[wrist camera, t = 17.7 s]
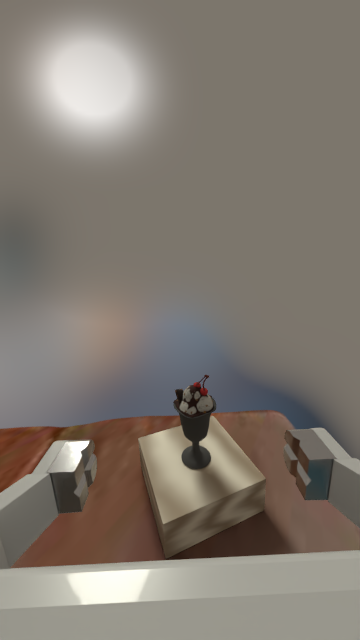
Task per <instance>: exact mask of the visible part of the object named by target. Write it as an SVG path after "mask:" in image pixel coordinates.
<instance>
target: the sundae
mask: <svg viewBox="0 0 360 640" xmlns="http://www.w3.org/2000/svg"><path fill="white" fill-rule="evenodd" d="M205 377H206V379H207V378H208V377H209V376H208V375H205ZM205 377H204V378H205ZM206 379H205V380H206ZM205 380H204V382H205ZM200 382H201V381H200ZM200 382H196V383H194V385H191V386H189V387H187V389H185V390H184V391H183V390H182V389H177V390H175V392H176V396H177V399H176V400H175V401H174V408H175V409H176V410H177V411H178V412H179V415H180V420H181V425H182V429H183V433H184V436H185V437H186V438H187V439H188V440H190V441H191V442H192V446H189V447H187V448H186V449H185V450H184V451H183V452H182V455H181V458H182V461H183V463H184V464H185V465H186V466H187V467H189V468H192V469H202V468H204V467H206V466H207V465H208V464H209V463H210V460H211V455H210V452H209V451H208V450H207V449H206V448H205V447H203V446H200V445H199V442H200V441H202V440H203V439H204V438H205V437H206V436H207V433H208V429H209V422H210V415H211V413H212V412H213V411H215V410H216V403H215V400H214V399H213V398H212V396H210V395H208V394H207V393H208V390H207V389H206V388H204V382H203V388H201V385H200Z"/></svg>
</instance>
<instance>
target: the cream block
mask: <svg viewBox="0 0 360 640" xmlns="http://www.w3.org/2000/svg"><path fill="white" fill-rule="evenodd" d="M138 441H139V451H140V461H141V467H142V471H143V475H144V478H145V482H146V486H147V490H148V494H149V497H150V501H151V505H152V509H153V513H154V516H155V520H156V524H157V528H158V532H159V535H160V539H161V543H162V547H163V551H164V554H165V558H166V559H167V558H169V557H171V556H173V555H175V554H177V553H179V552H181V551H183V550H185V549H187V548H189V547H191V546H193V545H195V544H197V543H199V542H201V541H203V540H205V539H207V538H209V537H211V536H213V535H215V534H217V533H219V532H221V531H223V530H225V529H227V528H229V527H231V526H233V525H235V524H237V523H239V522H241V521H243V520H245V519H247V518H249V517H251V516H253V515H255V514H257V513H259V512H261V511H263V510H264V504H265V486H266V478H265V477H264V476H263V475H262V473H261V472H260V471H259V470H258V469H257V468H256V466H255V465H254V464H253V463H252V462H251V460H250V459H249V458H248V457H247V456H246V454H245V453H244V452H243V451H242V450H241V448H240V447H239V446H238V445H237V444H236V443H235V441H234V440H233V439H232V438H231V437H230V435H229V434H228V433H227V432H226V431H225V429H224V428H223V427H222V426H221V425H220V423H219V422H218V421H217V420H216V419H215V418H214V416H212V417H210V422H209V429H208V433H207V436H206V437H205V438H204V439H203V440H202V441H200V442H199V445H200V446H203V447H205V448H206V449H207V450H208V451H209V452H210V455H211V460H210V463H209V464H208V465H207V466H206V467H204V468H202V469H192V468H189V467H187V466H186V465H185V464H184V463H183V461H182V458H181V455H182V452H183V451H184V450H185V449H186V448H187V447H189V446H192V442H191V441H190V440H188V439H187V438H186V437H185V436H184V433H183V429H182V426H178V427H175V428H171V429H168V430H165V431H161V432H158V433H155V434H151V435H148V436H145V437H141V438H138Z"/></svg>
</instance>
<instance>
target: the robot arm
mask: <svg viewBox="0 0 360 640" xmlns="http://www.w3.org/2000/svg"><path fill="white" fill-rule="evenodd" d="M284 439H285V440H286V442H287V444H286V445H285V447H284V460H285V463H286V466H287V468H288V470H289V472H290V474H292V475H293V476H294V477H296V485H297V487H298V489H299V490H300V492H301V494H302V496H303V498H304V499H305V500H328V502H330V503H331V504H332V505H333V506H334V507H335V508H337V509H338V510H339V511H340V512H341V513H342V514H344V515H345V516H346V517H347V518H348V519H349V520H351V521H352V522H353V523H354V524H355V525H357V526H358V527H359V528H360V461H359V460H358V459H356V458H351V457H350V456H349V455H348V454H347V453H346V452H345V451H344V449H343V448H342V447H341V446H340V445H339V444H338V443H337V442H336V441H335V440H334V439H333V437H332V436H331V435H330V434H329V433H328V432H327V431H326V430H325V429H323V428H312V429H300V430H286V432H285V438H284ZM94 448H95V447H94V441H92V440H68V441H56V442H54V443H53V444H52V445H51V447H50V448H49V450H48V451H47V453H46V454H45V455H44V457H43V458H42V460H41V461H40V463H39V464H38V466H37V467H36V468H35V470H34V471H33V473H32V474H28V475H26V476H25V477H23V478H22V479H20V480H19V481H17V482H16V483H15V484H13V485H12V486H10V487H9V488H7V489H6V490H4V491H3V492H1V493H0V640H360V550H354V551H334V552H315V553H296V554H278V555H259V556H240V557H221V558H202V559H183V560H163V561H144V562H125V563H106V564H87V565H68V566H49V567H30V568H11V569H10V567H11V566H12V565H13V564H14V563H15V562H16V561H17V560H18V558H19V557H20V556H21V555H22V554H23V553H24V552H25V551H26V550H27V549H28V548H29V547H30V545H31V544H32V543H33V542H34V541H35V540H36V539H37V538H38V537H39V536H40V535H41V534H42V533H43V531H44V530H45V529H46V528H47V527H48V526H49V525H50V524H51V523H52V522H53V521H54V520H55V518H56V517H57V516H58V515H59V514H60V513H72V512H82V510H83V507H84V505H85V502H86V500H87V497H88V487H89V486H90V485H91V484H92V483H93V481H94V478H95V475H96V469H97V460H96V456H95V455H94V454H93V451H94Z"/></svg>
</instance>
